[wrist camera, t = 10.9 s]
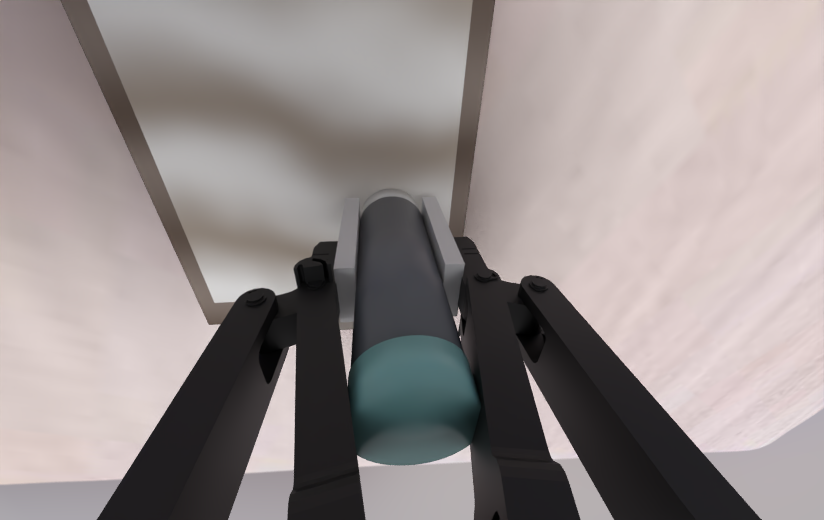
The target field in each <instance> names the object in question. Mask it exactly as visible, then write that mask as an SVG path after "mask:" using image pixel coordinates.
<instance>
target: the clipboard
mask: <svg viewBox="0 0 824 520" xmlns="http://www.w3.org/2000/svg"><path fill="white" fill-rule="evenodd" d="M61 3H62V5H63V7H64V9H65V11H66V14H67V16H68V18H69V20H70V22H71V25H72V27H73V29H74V31H75V33H76V35H77V38H78V40H79V42H80V44H81V46H82V49H83V51H84V53H85V55H86V57H87V59H88V62H89V64H90V66H91V68H92V70H93V73H94V75H95V77H96V79H97V81H98V84H99V86H100V88H101V90H102V92H103V94H104V97H105V99H106V101H107V103H108V105H109V108H110V110H111V112H112V114H113V116H114V119H115V121H116V123H117V125H118V127H119V129H120V132H121V134H122V136H123V138H124V140H125V143H126V145H127V147H128V149H129V151H130V154H131V156H132V158H133V160H134V162H135V164H136V167H137V169H138V171H139V173H140V175H141V178H142V180H143V182H144V184H145V186H146V188H147V191H148V193H149V195H150V197H151V199H152V202H153V204H154V206H155V208H156V210H157V213H158V215H159V217H160V219H161V221H162V223H163V226H164V228H165V230H166V232H167V234H168V237H169V239H170V241H171V243H172V245H173V248H174V250H175V252H176V254H177V256H178V258H179V261H180V263H181V265H182V267H183V269H184V272H185V274H186V276H187V278H188V280H189V283H190V285H191V287H192V289H193V291H194V293H195V296H196V298H197V300H198V302H199V304H200V307H201V309H202V311H203V313H204V315H205V317H206V320H207V322H208V324H209V325H214V324H221V323H222V322H223V320H224V319H225V317H226V316H227V314H228V312H229V311H230V309H231V308H232V306H233V305H234V303H235V301H236V300H237V299H238V298H239V297H240V295H242V294H243V293H245V292H247V291H249V290H252V289H257V288H267V289H270V290H272V291H274V293H275V295H280V294H284V293H288V292H291V291H293V290H295V289H297V283H296V279H295V274H294V270H293V269H294V266H295V264H296V263H298V262H299V261H301V260H303V259H305V258H309V257H311V256H312V253H313V249H314V247H315V246H316V245H317V244H318V243H319V242H325V241H338V238H339V232H340V226H341V220H342V214H343V208H344V202H345V198H359V199H360V214H361V211H362V208H363V205H364V203H365V202H366V200H367V199H368V198H369V197H370V196H371V195H373V194H374V193H376V192H378V191H380V190H384V189H398V190H401V191H404V192H406V193H408V194H409V195H410V196H411V197H413V199H414V200H415V201H416V203H417V205H418V207H419V210H420V212H421V209H422V197H436V199H437V201H438V203H439V206H440V208H441V210H442V212H443V215H444V217H445V219H446V222H447V224H448V226H449V229H450V231H451V233H452V235H453V237H463V232H464V225H465V217H466V210H467V203H468V195H469V188H470V181H471V173H472V166H473V159H474V151H475V144H476V137H477V129H478V122H479V115H480V108H481V100H482V93H483V86H484V78H485V71H486V64H487V56H488V49H489V42H490V34H491V27H492V20H493V12H494V5H495V0H61ZM353 324H354V322H340V316H339V327H340V330H348V329H353Z"/></svg>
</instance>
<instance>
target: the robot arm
mask: <svg viewBox="0 0 824 520" xmlns="http://www.w3.org/2000/svg"><path fill="white" fill-rule="evenodd" d="M421 214H422V217H423V220H424V224H425V227H426V230H427V233H428V237H429V240H430V243H431V246H432V250H433V253H434V256H435V260H436V263H437V266H438V269H439V273H440V276H441V279H442V282H443V286H444V289H445V292H446V295H447V299H448V302H449V305H450V308H451V312H452V315H453V316H457V313H458V306H459V309H460V312H461V318H460V324H459V330H458V334H459V336H460V335H461V344H462V348H463V351H464V353H465V355H466V357H467V358H468V361H469V365H470V368H471V371H472V374H473V377H474V381H475V384H476V387H477V390H478V395H479V399H480V403H481V409H480V413H479V417H478V421H477V424H476V428H475V432H474V436H473V439H472V443H471V444H470V450H471V461H472V473H473V485H474V497H475V510H474V520H580V517H579V513H578V510H577V507H576V504H575V500H574V497H573V494H572V491H571V488H570V484H569V481H568V479H567V476H566V473H565V471H564V470H563V468H562V466H561V465H560V464H559V463H557V462H555V461H553V459H552V458H551V456H550V453H549V450H548V447H547V443H546V440H545V436H544V432H543V429H542V425H541V422H540V418H539V415H538V411H537V408H536V404H535V400H534V397H533V393H532V390H531V386H530V383H529V379H528V375H527V372H526V368H525V365H524V362H525V364H526V366H527V367H528V369H529V371H530V373H531V374H532V376H533V378H534V380H535V381H536V383H537V385H538V387H539V389H540V390H541V392H542V394H543V396H544V397H545V399H546V401H547V403H548V404H549V406H550V408H551V410H552V411H553V413H554V415H555V417H556V418H557V420H558V422H559V424H560V425H561V427H562V429H563V431H564V432H565V434H566V436H567V438H568V439H569V441H570V443H571V445H572V446H573V448H574V450H575V452H576V453H577V455H578V457H579V459H580V460H581V462H582V464H583V466H584V467H585V469H586V471H587V473H588V474H589V476H590V478H591V480H592V481H593V483H594V485H595V487H596V488H597V490H598V492H599V494H600V495H601V497H602V499H603V501H604V502H605V504H606V506H607V508H608V510H609V511H610V513H611V515H612V517H613V518H614V520H762V519H760V518H759V517H758V515H757V514H756V513H755V512H754V511H753V510H752V509H751V508H750V506H748V504H747V503H746V502H745V501H744V499H743V498H742V497H741V496H740V495H739V494H738V493H737V492H736V490H735V489H734V488H733V487H732V486H731V485H730V484H729V483H728V482H727V480H726V479H725V478H724V477H723V476H722V475H721V473H720V472H719V471H718V470H717V469H716V468H715V467H714V465H713V464H712V463H711V462H710V461H709V460H708V459H707V457H706V456H705V455H704V454H703V453H702V452H701V451H700V450H699V448H698V447H697V446H696V445H695V444H694V443H693V442H692V440H691V439H690V438H689V437H688V436H687V435H686V434H685V433H684V431H683V430H682V429H681V428H680V427H679V426H678V425H677V423H676V422H675V421H674V420H673V419H672V418H671V417H670V415H669V414H668V413H667V412H666V411H665V410H664V409H663V408H662V406H661V405H660V404H659V403H658V402H657V401H656V400H655V398H654V397H653V396H652V395H651V394H650V393H649V392H648V391H647V389H646V388H645V387H644V386H643V385H642V384H641V383H640V381H639V380H638V379H637V378H636V377H635V376H634V375H633V373H632V372H631V371H630V370H629V369H628V368H627V367H626V366H625V364H624V363H623V362H622V361H621V360H620V359H619V358H618V356H617V355H616V354H615V353H614V352H613V351H612V350H611V349H610V347H609V346H608V345H607V344H606V343H605V342H604V341H603V339H602V338H601V337H600V336H599V335H598V334H597V333H596V331H595V330H594V329H593V328H592V327H591V326H590V325H589V324H588V322H587V321H586V320H585V319H584V318H583V317H582V316H581V314H580V313H579V312H578V311H577V310H576V309H575V308H574V307H573V305H572V304H571V303H570V302H569V301H568V300H567V299H566V297H565V296H564V295H563V294H562V293H561V292H560V291H559V289H558V288H557V287H556V286H555V285H554V284H553V283H552V282H551V281H549V280H548V279H545V278H543V277H540V276H532V275H530V276H526V277H524V278H523V279H522V280H521V283H520V284H516V283H510V282H505V281H502V280H501V279H500V277H499V275H498V274H497V273H496V272H494V271H493V270H490V269H488V268H487V266H486V264H485V263H484V261H483V259H482V257H481V255H480V254H479V251H478V249H477V247H476V246H475V244H474V242H473V241H472V240H470V239H469V238H468V237H453V235H452V233H451V231H450V229H449V226H448V224H447V222H446V219H445V217H444V215H443V212H442V210H441V208H440V206H439V203H438V201H437V199H436V197H422V209H421ZM360 219H361V214H360V199H359V198H345V202H344V208H343V214H342V220H341V226H340V232H339V238H338V241H325V242H319V243H318V244H317V245H316V246H315V247H314V249H313V253H312V256H311V257H309V258H305V259H303V260H301V261H299V262H298V263H296V264H295V266H294V269H293V270H294V274H295V279H296V283H297V289H295V290H293V291H291V292H288V293H284V294H280V295H275V293H274V291H272V290H270V289H267V288H257V289H252V290H249V291H247V292H245V293H243V294H242V295H240V297H239V298H238V299H237V300H236V301H235V303H234V305H233V306H232V308H231V309H230V311H229V312H228V314H227V316H226V317H225V319H224V320H223V322H222V323H221V325H220V327H219V328H218V330H217V331H216V333H215V334H214V336H213V338H212V339H211V341H210V342H209V344H208V345H207V347H206V349H205V350H204V352H203V353H202V355H201V356H200V358H199V360H198V361H197V363H196V364H195V366H194V368H193V369H192V371H191V372H190V374H189V375H188V377H187V379H186V380H185V382H184V383H183V385H182V386H181V388H180V390H179V391H178V393H177V394H176V396H175V397H174V399H173V401H172V402H171V404H170V405H169V407H168V408H167V410H166V412H165V413H164V415H163V416H162V418H161V420H160V421H159V423H158V424H157V426H156V427H155V429H154V431H153V432H152V434H151V435H150V437H149V438H148V440H147V442H146V443H145V445H144V446H143V448H142V449H141V451H140V453H139V454H138V456H137V457H136V459H135V460H134V462H133V464H132V465H131V467H130V468H129V470H128V472H127V473H126V475H125V476H124V478H123V479H122V481H121V483H120V484H119V486H118V487H117V489H116V491H115V492H114V494H113V495H112V497H111V498H110V500H109V501H108V503H107V505H106V506H105V508H104V510H103V511H102V513H101V514H100V516H99V517H98V519H97V520H228V518H229V515H230V512H231V509H232V506H233V504H234V501H235V498H236V495H237V493H238V490H239V486H240V484H241V481H242V479H243V476H244V473H245V470H246V467H247V465H248V462H249V459H250V456H251V453H252V451H253V448H254V445H255V442H256V439H257V437H258V434H259V431H260V428H261V425H262V423H263V420H264V417H265V414H266V411H267V409H268V406H269V403H270V400H271V397H272V395H273V392H274V389H275V386H276V383H277V381H278V378H279V375H280V372H281V369H282V367H283V364H284V361H285V358H286V355H287V353H288V350H289V347H290V346H293V345H296V390H295V449H294V486H293V490H292V492H291V494H290V497H289V503H288V520H365V512H364V505H363V497H362V490H361V483H360V475H359V468H358V460H357V453H356V446H355V439H354V431H353V424H352V417H351V409H350V402H349V394H348V386H347V379H346V372H345V364H344V357H343V349H342V342H341V335H340V327H339V316H340V322H354V307H355V292H356V283H357V266H358V249H359V232H360ZM523 360H524V361H523Z"/></svg>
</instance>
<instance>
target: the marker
mask: <svg viewBox="0 0 824 520" xmlns="http://www.w3.org/2000/svg"><path fill="white" fill-rule="evenodd" d="M348 394H349V402H350V409H351V417H352V424H353V431H354V439H355V446H356V453H357V455H358V456H360V457H362V458H364V459H366V460H368V461H372V462H375V463H380V464H386V465H416V464H423V463H428V462H432V461H436V460H440V459H443V458H446V457H448V456H450V455H453V454H455V453H457V452H459V451H461V450H462V449H464V448H466V447H467V446H468V445H470V444H471V443H472V439H473V436H474V432H475V428H476V424H477V421H478V417H479V413H480V409H481V403H480V399H479V395H478V390H477V387H476V384H475V381H474V377H473V374H472V371H471V368H470V365H469V361H468V358H467V357H466V355H465V353H464V351H463V348H462V344H461V341H460V338H459V334H458V331H457V328H456V325H455V321H454V318H453V315H452V312H451V308H450V305H449V302H448V299H447V295H446V292H445V289H444V286H443V282H442V279H441V276H440V273H439V269H438V266H437V263H436V260H435V256H434V253H433V250H432V246H431V243H430V240H429V237H428V233H427V230H426V227H425V224H424V220H423V217H422V214H421V212H420V210H419V207H418V205H417V203H416V201H415V200H414V199H413V197H411V196H410V195H409V194H408V193H406V192H404V191H401V190H398V189H384V190H380V191H378V192H376V193H374V194H373V195H371V196H370V197H369V198H368V199H367V200H366V202H365V203H364V205H363V208H362V211H361V219H360V232H359V249H358V266H357V283H356V292H355V307H354V324H353V340H352V356H351V369H350V372H349V377H348Z"/></svg>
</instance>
